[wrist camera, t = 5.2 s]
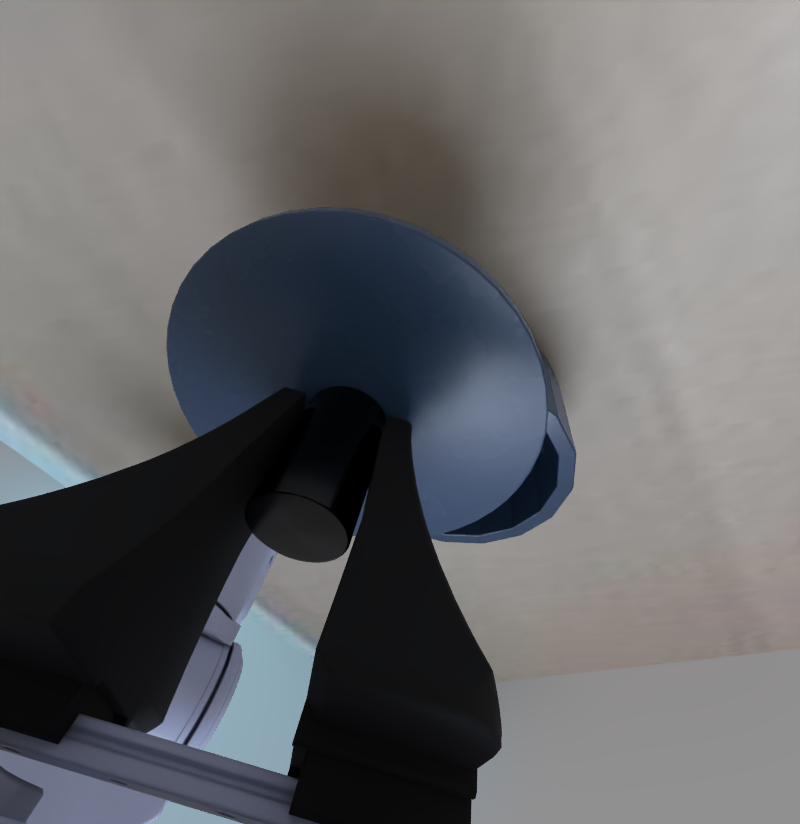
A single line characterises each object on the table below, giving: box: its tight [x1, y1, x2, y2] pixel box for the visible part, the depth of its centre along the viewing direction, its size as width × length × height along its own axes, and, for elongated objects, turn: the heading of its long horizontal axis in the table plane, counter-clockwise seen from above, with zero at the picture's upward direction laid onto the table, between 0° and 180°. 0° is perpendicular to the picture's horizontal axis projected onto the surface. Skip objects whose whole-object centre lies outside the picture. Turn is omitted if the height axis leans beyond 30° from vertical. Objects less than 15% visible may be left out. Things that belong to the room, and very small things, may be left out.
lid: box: [167, 207, 549, 563], centre depth 11 cm, size 11×11×5 cm
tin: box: [430, 351, 576, 543], centre depth 21 cm, size 10×10×5 cm
